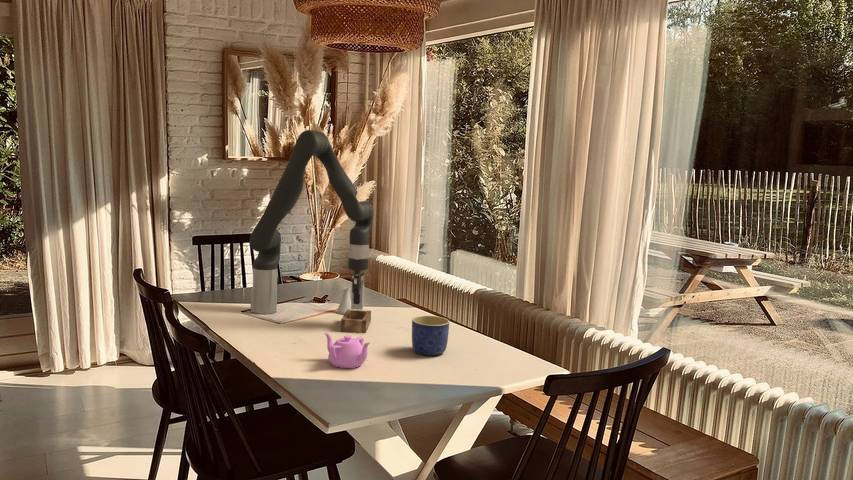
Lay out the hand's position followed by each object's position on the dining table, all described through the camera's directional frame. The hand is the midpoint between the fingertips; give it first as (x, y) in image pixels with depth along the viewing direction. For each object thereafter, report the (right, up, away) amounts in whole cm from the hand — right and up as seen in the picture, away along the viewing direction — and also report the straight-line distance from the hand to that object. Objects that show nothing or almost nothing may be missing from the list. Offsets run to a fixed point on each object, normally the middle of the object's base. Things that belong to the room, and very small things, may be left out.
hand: (357, 302), depth 258 cm
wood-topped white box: (0, -2, 0) cm, 2 cm away
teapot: (+1, -16, -40) cm, 43 cm away
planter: (+26, -15, -24) cm, 39 cm away
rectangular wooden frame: (-1, -9, +1) cm, 9 cm away
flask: (-7, -6, +21) cm, 23 cm away
